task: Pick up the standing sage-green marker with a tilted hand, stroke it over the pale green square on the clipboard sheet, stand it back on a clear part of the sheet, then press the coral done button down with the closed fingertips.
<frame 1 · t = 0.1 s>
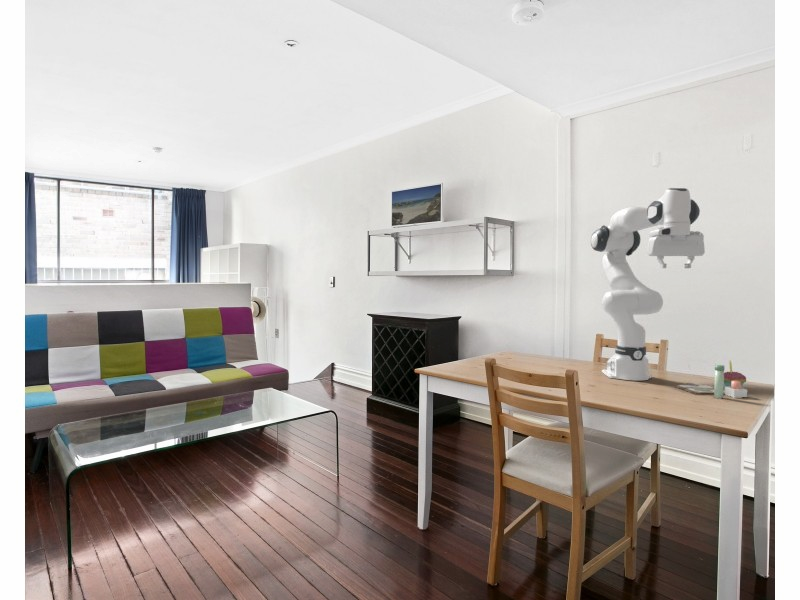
hand: (675, 268, 183), 48 cm above the table, tool pointing down, fingers open, 8 cm apart
cupcake: (732, 389, 194), on the table
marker: (718, 397, 181), on the table
done button: (735, 386, 183), point 4 cm above the table, slide at 0.0 cm
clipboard: (702, 390, 192), on the table
button housing: (735, 396, 183), on the table
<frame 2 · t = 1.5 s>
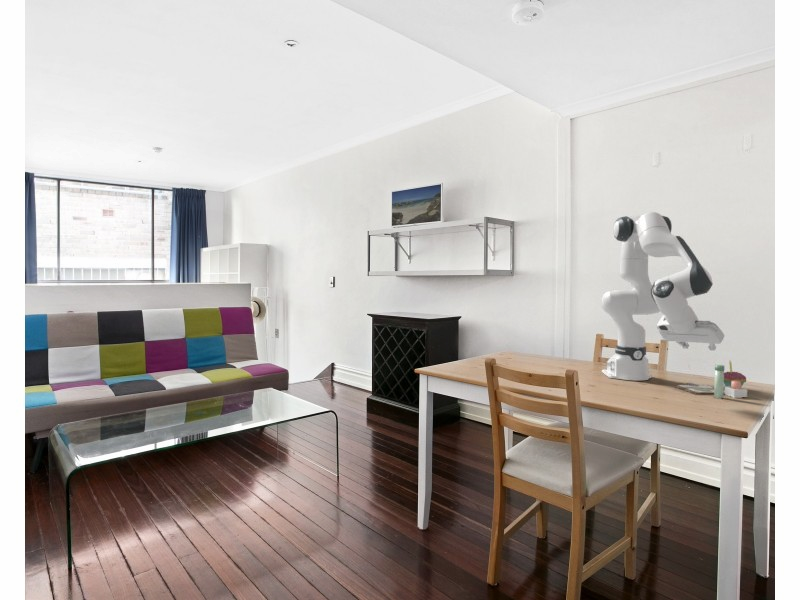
hand: (699, 348, 174), 19 cm above the table, tool tilted 45°, fingers open, 8 cm apart
nothing on the table moved.
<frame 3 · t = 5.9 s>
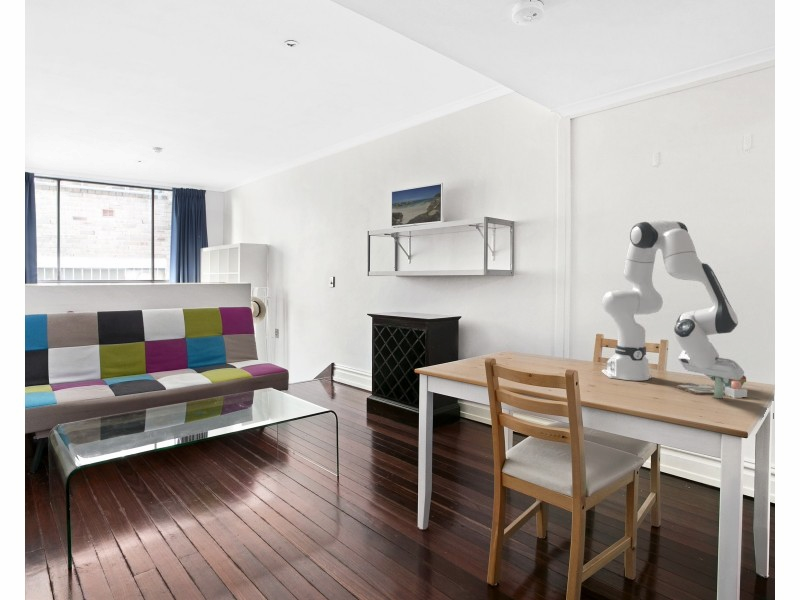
hand: (720, 380, 181), 6 cm above the table, tool tilted 45°, fingers closed on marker, 3 cm apart
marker: (718, 397, 181), on the table, touching gripper
everything else where it was.
when the fingers open (7 cm above the table, at t = 11.7 s): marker stays where it is, resting on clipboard.
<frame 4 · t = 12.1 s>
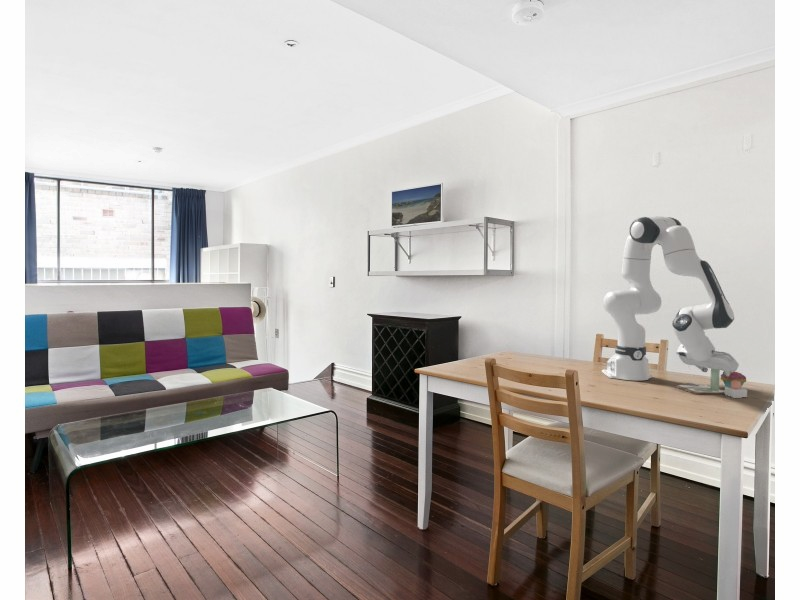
hand: (716, 372, 190), 7 cm above the table, tool tilted 45°, fingers open, 7 cm apart
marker: (714, 390, 190), point 1 cm above the table, touching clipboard
everything else where it was.
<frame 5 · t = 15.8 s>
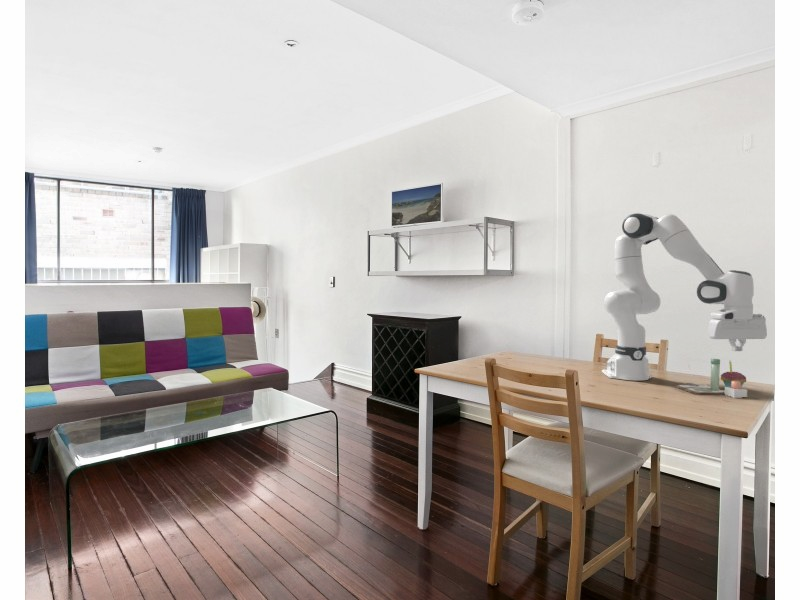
hand: (737, 351, 182), 17 cm above the table, tool pointing down, fingers closed
nothing on the table moved.
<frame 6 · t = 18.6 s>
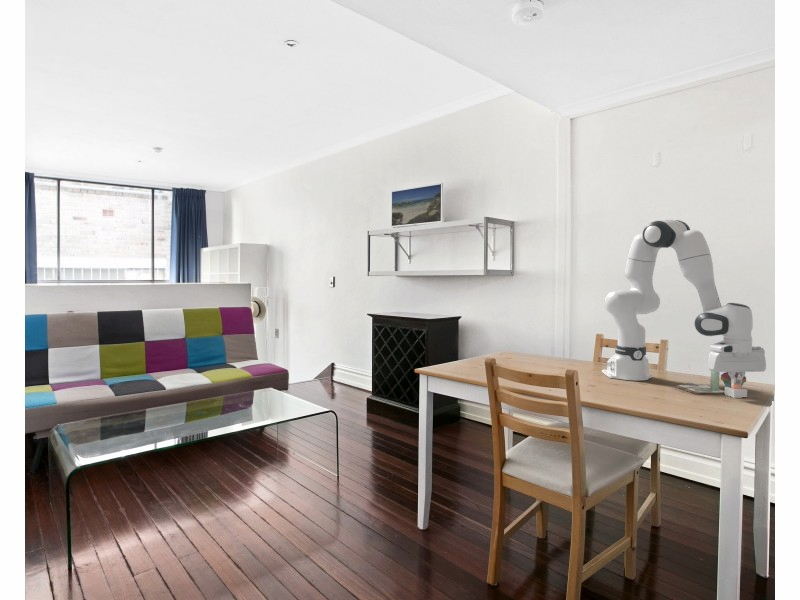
hand: (736, 383, 183), 5 cm above the table, tool pointing down, fingers closed, pressing on done button
done button: (735, 388, 183), point 3 cm above the table, slide at 0.5 cm, touching button housing, gripper
everything else where it was.
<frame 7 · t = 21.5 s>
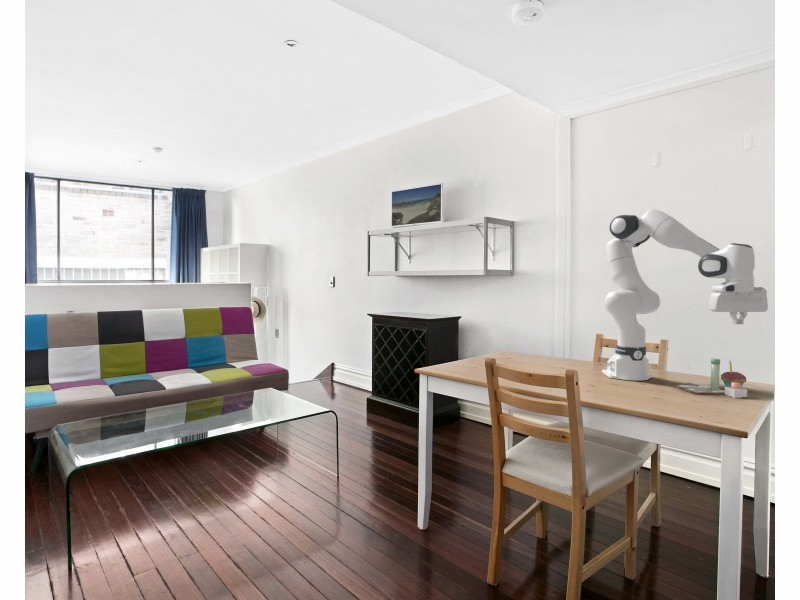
hand: (738, 324, 182), 27 cm above the table, tool pointing down, fingers closed
done button: (735, 388, 183), point 3 cm above the table, slide at 0.5 cm, touching button housing
everything else where it was.
at the end: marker inside the target area (0.0 cm from its centre), point 0.8 cm above the table; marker tilted 0°; done button slide at 0.5 cm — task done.
